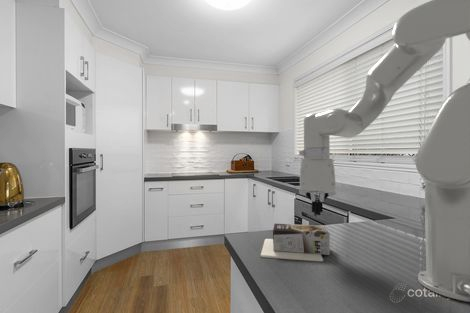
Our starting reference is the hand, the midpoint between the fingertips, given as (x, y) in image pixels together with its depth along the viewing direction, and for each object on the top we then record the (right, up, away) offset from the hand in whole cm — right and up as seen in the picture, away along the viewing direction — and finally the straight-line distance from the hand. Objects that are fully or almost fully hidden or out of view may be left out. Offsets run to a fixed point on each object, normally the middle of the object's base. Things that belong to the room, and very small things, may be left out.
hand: (317, 214), depth 77 cm
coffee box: (+3, -7, -1) cm, 8 cm away
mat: (-8, -11, +1) cm, 14 cm away
